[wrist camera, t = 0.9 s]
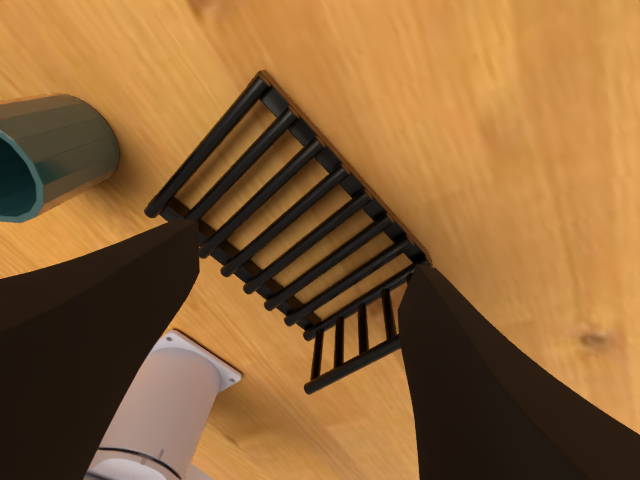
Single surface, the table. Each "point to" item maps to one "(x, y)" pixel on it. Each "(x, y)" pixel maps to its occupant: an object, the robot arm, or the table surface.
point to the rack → (240, 260)
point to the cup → (50, 153)
